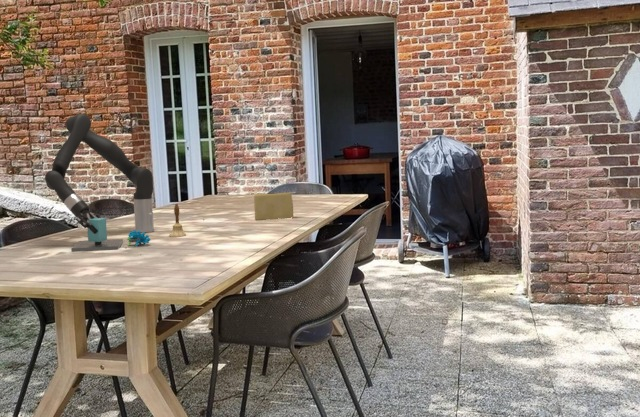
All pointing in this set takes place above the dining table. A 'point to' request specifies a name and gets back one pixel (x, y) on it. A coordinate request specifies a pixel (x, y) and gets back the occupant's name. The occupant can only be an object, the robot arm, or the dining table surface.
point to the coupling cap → (102, 231)
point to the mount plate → (97, 245)
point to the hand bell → (177, 225)
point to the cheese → (273, 206)
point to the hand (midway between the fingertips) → (100, 231)
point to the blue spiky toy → (138, 238)
